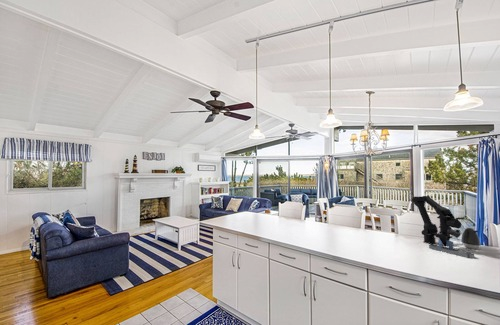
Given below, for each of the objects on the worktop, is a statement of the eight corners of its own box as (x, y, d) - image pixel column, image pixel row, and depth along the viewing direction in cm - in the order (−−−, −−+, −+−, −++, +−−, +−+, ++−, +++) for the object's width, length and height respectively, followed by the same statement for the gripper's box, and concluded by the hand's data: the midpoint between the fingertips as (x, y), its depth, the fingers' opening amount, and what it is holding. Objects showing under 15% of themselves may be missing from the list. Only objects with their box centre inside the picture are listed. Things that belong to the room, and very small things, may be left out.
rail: (428, 248, 166) (428, 245, 166) (431, 247, 169) (431, 243, 169) (471, 258, 145) (471, 255, 146) (474, 257, 148) (474, 253, 149)
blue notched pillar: (438, 247, 168) (438, 239, 169) (440, 246, 170) (439, 239, 170) (452, 250, 161) (451, 242, 162) (453, 249, 163) (453, 241, 163)
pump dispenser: (475, 250, 161) (473, 230, 162) (458, 246, 171) (457, 226, 172) (484, 249, 164) (483, 229, 165) (467, 245, 174) (466, 225, 175)
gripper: (453, 229, 155) (455, 251, 154) (463, 225, 164) (464, 246, 163) (434, 225, 165) (435, 246, 164) (444, 223, 174) (445, 242, 173)
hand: (445, 246), depth 166 cm, fingers closed on blue notched pillar, 3 cm apart
